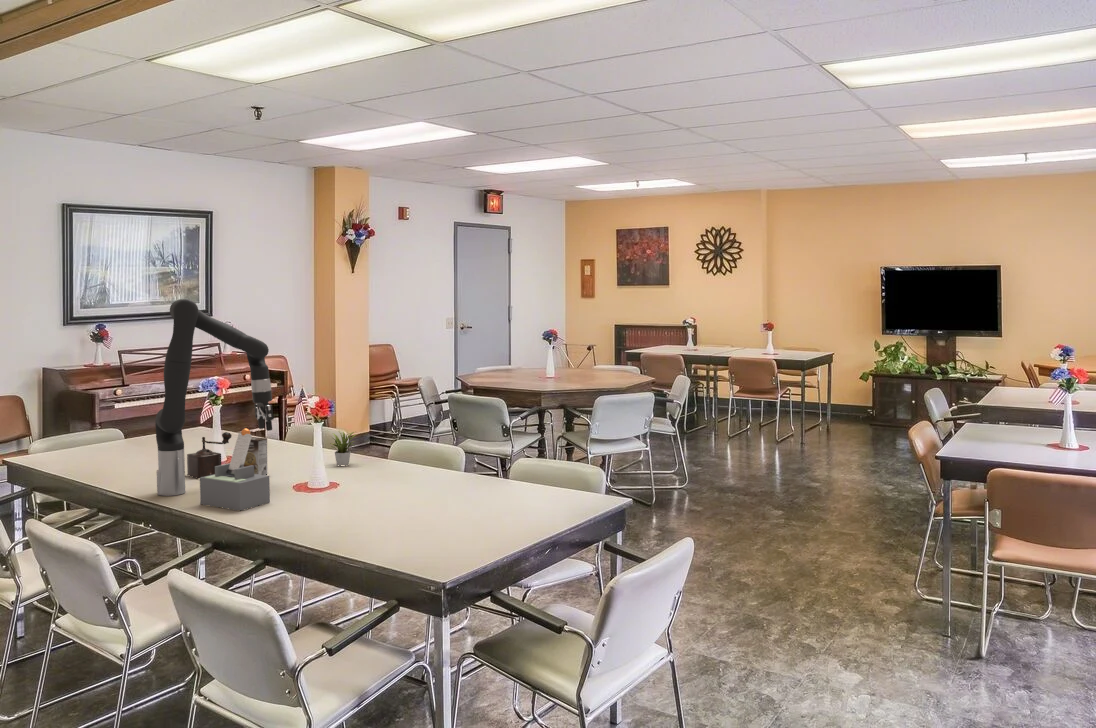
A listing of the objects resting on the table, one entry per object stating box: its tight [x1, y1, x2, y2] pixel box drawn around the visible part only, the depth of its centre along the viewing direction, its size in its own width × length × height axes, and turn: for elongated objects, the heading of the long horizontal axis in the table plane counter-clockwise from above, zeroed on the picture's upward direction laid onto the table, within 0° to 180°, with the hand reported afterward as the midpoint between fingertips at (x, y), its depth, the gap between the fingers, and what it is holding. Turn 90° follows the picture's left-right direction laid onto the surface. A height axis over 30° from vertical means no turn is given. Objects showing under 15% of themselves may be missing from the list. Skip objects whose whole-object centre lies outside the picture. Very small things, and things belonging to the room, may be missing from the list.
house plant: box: [329, 431, 358, 467], centre depth 367 cm, size 14×14×16 cm
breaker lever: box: [226, 427, 253, 476], centre depth 299 cm, size 3×6×18 cm, turn 64°
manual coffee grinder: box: [186, 431, 232, 479], centre depth 346 cm, size 16×11×18 cm
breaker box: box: [199, 462, 271, 511], centre depth 297 cm, size 14×20×14 cm
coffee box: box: [243, 436, 269, 476], centre depth 345 cm, size 9×6×16 cm
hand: (265, 429), depth 330 cm, fingers open, 8 cm apart
